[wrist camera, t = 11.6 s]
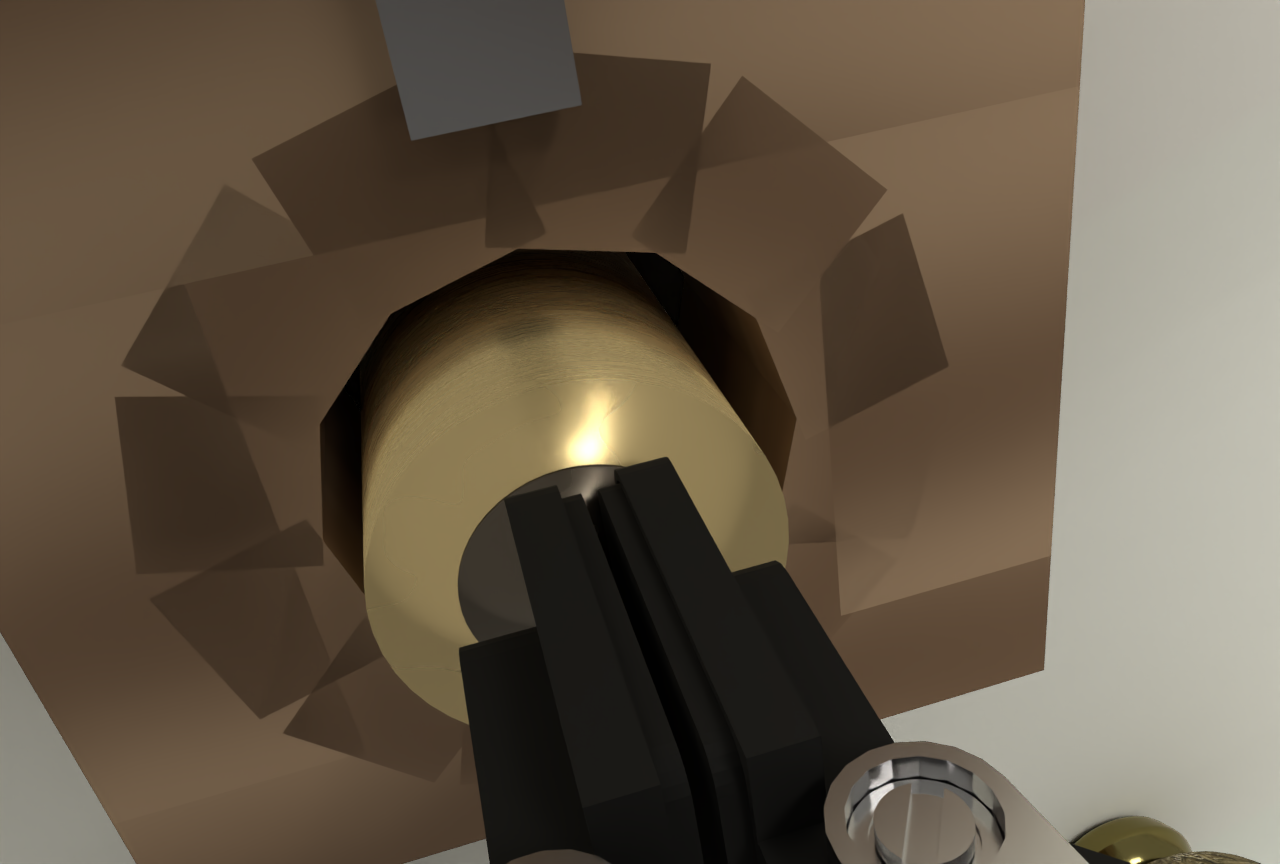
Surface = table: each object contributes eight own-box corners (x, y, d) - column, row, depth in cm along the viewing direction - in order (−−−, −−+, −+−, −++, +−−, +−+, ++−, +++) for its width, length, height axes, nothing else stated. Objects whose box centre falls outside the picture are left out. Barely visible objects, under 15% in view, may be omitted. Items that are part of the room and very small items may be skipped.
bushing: (321, 218, 16) (303, 448, 10) (613, 153, 16) (770, 333, 10) (402, 471, 18) (428, 788, 12) (655, 406, 18) (805, 677, 12)
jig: (-469, -757, 10) (-1288, -1368, 5) (859, -867, 12) (1247, -1397, 7) (212, 686, 19) (168, 985, 14) (898, 500, 21) (1074, 705, 16)
